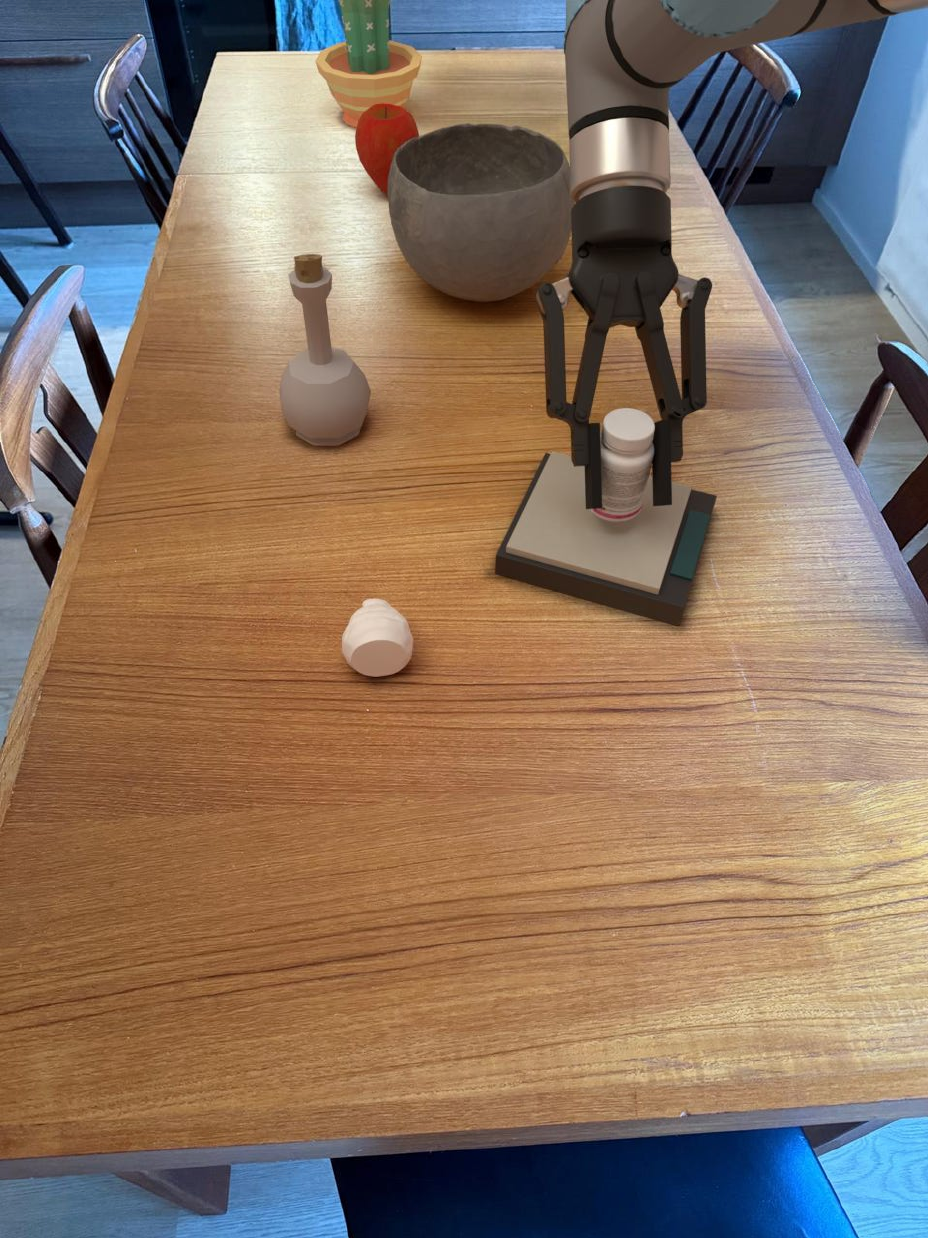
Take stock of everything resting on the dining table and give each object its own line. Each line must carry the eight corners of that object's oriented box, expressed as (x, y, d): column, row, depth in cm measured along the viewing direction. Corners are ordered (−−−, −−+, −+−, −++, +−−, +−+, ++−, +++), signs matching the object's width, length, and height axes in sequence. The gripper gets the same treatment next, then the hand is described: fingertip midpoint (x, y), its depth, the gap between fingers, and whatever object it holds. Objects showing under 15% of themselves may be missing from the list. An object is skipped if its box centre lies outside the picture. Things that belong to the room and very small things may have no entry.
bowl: (581, 253, 111) (596, 124, 99) (546, 346, 98) (558, 211, 86) (422, 229, 114) (419, 102, 102) (368, 316, 101) (358, 182, 90)
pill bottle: (653, 511, 75) (673, 431, 68) (607, 530, 73) (622, 451, 67) (620, 477, 78) (635, 397, 71) (574, 495, 76) (586, 415, 70)
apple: (346, 187, 121) (338, 100, 112) (400, 172, 124) (397, 86, 116) (378, 213, 116) (372, 125, 108) (433, 196, 119) (432, 109, 111)
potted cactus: (383, 88, 142) (373, -111, 123) (444, 120, 135) (443, -86, 115) (301, 113, 136) (276, -93, 116) (360, 148, 128) (344, -65, 109)
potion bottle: (288, 458, 86) (257, 285, 72) (282, 401, 91) (252, 230, 77) (379, 447, 87) (366, 275, 73) (367, 392, 92) (353, 222, 79)
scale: (711, 514, 82) (719, 488, 79) (678, 626, 73) (686, 601, 71) (543, 471, 85) (546, 445, 83) (494, 573, 77) (496, 547, 74)
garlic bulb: (408, 616, 74) (405, 572, 69) (416, 675, 70) (414, 632, 66) (341, 623, 73) (335, 579, 69) (345, 683, 69) (339, 640, 65)
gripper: (717, 213, 72) (722, 503, 75) (498, 219, 71) (510, 512, 74) (753, 177, 65) (757, 500, 67) (509, 183, 64) (522, 511, 66)
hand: (628, 506), depth 71 cm, fingers closed on pill bottle, 5 cm apart
